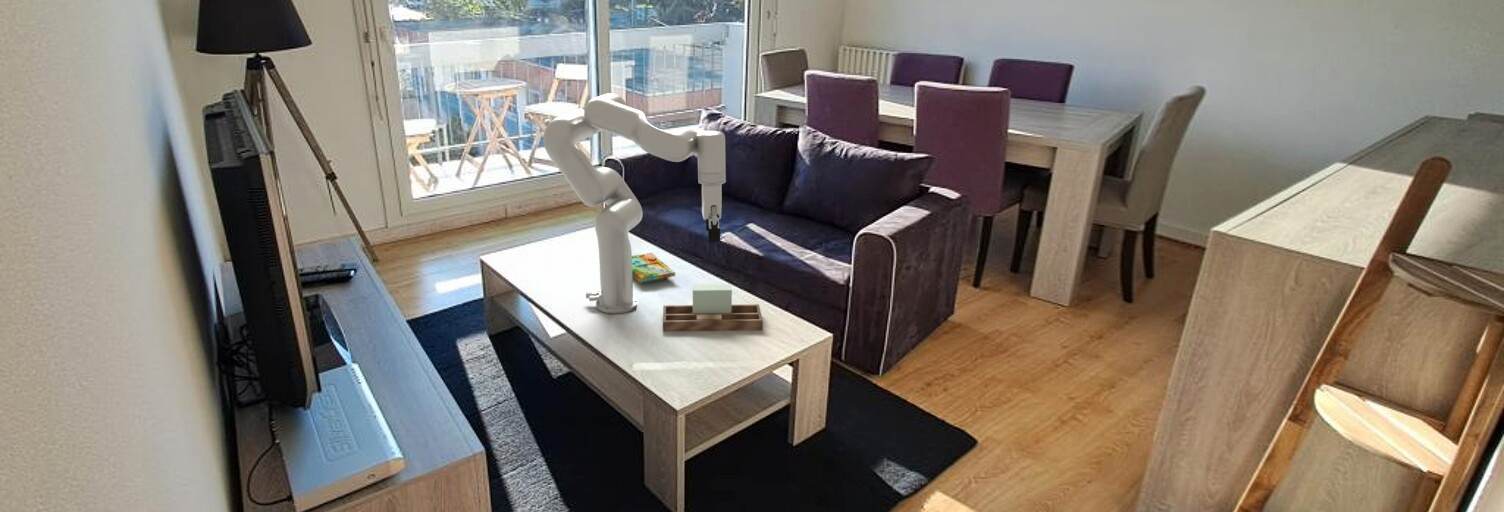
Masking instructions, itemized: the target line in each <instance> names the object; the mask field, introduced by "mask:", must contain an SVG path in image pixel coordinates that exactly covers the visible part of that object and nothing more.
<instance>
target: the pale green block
mask: <svg viewBox="0 0 1504 512" xmlns="http://www.w3.org/2000/svg"><path fill="white" fill-rule="evenodd" d="M732 295H733V289H732V284H692V305H693V314H707V313H731V306H732V305H733V304H732V301H733V300H732V299H733V298H732Z"/></svg>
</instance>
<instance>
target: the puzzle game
mask: <svg viewBox="0 0 1504 512" xmlns="http://www.w3.org/2000/svg"><path fill="white" fill-rule="evenodd" d="M675 276H676V272H675V271H674V270H673V269H671V268H670V267H669V266H668V265H667V264H666V263H664V262H663V261H662V260H661V259H660V258H659V257H658V256H656V254H654V253H653V252H647V253H641V254H636V255H632V278H633V279H635V281H637V282H638V283H639V284H640V285H641V284H646V283H652V282H658V281H664V280H668V278H671V277H675Z"/></svg>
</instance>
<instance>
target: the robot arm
mask: <svg viewBox="0 0 1504 512" xmlns="http://www.w3.org/2000/svg"><path fill="white" fill-rule="evenodd" d="M602 131H605V132H607V133H611V134H614V135H616V136H620V137H621V138H624V139H626V140H630V141H632V142H633V143H635V144H636V146H638V147H639V148H640V149H641V150H642V151H644V152H645V153H647V154H650V155H652V156H653V157H654V156H655V157H658V158H660V159H663V160H665V161H670V162H675V163H679V162H683V161H685V160H687V159H688V158H690V157H691V156H695V155H697V180H698V184H700V185H701V213H702V218H703V220H704V221H705V230H706V231H707V233H708V234H707V235H708V236H707V237H708V240H707V241H708V242H709V243H720V241H721V227H720V220H721V218H722V207H723V206H722V203H723V202H722V199H723V196H722V193H723V192H722V191H723V190H722V186H723V184H725V183H727V179H726V178H727V177H726V176H727V175H726V169H727V168H726V137H725V134H724V133H723V132H722V131H719V130H704V129H698V128H694V127H684V128H681V129H679V130H677V131H675V132H673V133H672V132H669V131H666V130H663V129H661V128H659V127H656V126H654V125H652V124H651V123H650V122H649V121H648V119H647V115H646V113H645V112H644V111H643V110H639V109H636V108H634V107H631V106H628V105H627V103H626V101H625V99H624V98H623V97H621V96H620V95H618V94H616V93H612V92H610V93H609V92H608V93H604V94H601V95H599V96H596V97H593V98H591V99H589V101H588V102H587V103H586V105H585V106H582V107H580V108H578V109H575V110H573V111H570V112H568V113H564V114H561V115H559V116H556V117H555V118H554V119H552V120H551V121H550V122H549V123H548V124H547V126H546V128H545V130H544V134H543V145H544V149H545V151H546V153H547V155H548V157H549V158H550V160H551V161H552V162H553V163H554V165H555V166H556V168H557V169H558V170H559V171H560V172H561V174H562V175H563V176H564V178H565V179H566V181H567V182H568V184H569V185H570V186H571V188H572V190H573V191H574V192H575V194H576V195H577V196H578V198H579V199H580V201H581V202H582V203H583V204H584V205H586V206H587V207H590V208H592V207H593V208H594V207H597V206H600V205H602V204H603V203H604V204H605V205H606V206H604V207H603V208H602V209H601V210H600V211H599V212H598V214H596V217H595V220H594V229H595V230H594V231H595V234H596V239H597V245H598V260H599V280H600V281H599V282H600V289H599V290H596V292H595V291H594V292H593V291H587V292H585V298H586V299H588V300H589V302H595V307H596V309H597V310H599V311H600V312H602V313H607V314H617V315H618V314H625V313H628V312H631V311H633V310H636V308H637V307H638V303H639V299H638V298H637V297H636V296H634V290H633V289H634V287H633V276H632V256H633V255H632V254H633V253H632V252H633V251H632V243H631V241H630V239H629V231H631V230H632V229H633V228H635V227H636V226H638V224H640V222H642V219H643V209H642V208H643V207H642V206H641V204H640V201H639V200H638V198H637V197H636V196H635V194H634V193H633V192H632V190H631V189H630V187H629V186H628V184H627V183H626V181H625V180H624V179H623V177H622V176H621V175H620V174H619V173H618V172H617V171H616V170H615V169H613V168H610V167H607V166H606V167H605V166H603V167H598V168H596V167H595V166H594V165H593V164H592V162H591V161H590V159H589V158H588V156H587V155H586V154H585V153H584V152H583V151H581V150H580V149H579V148H577V147H576V143H578V142H581V141H583V140H586V139H589V138H590V137H592V136H594V135H596V134H598V133H600V132H602Z"/></svg>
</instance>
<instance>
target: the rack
mask: <svg viewBox="0 0 1504 512" xmlns="http://www.w3.org/2000/svg"><path fill="white" fill-rule="evenodd" d="M662 307H663V308H662V332H664V333H665V332H670V333H671V332H672V333H673V332H719V331H720V332H722V331H723V332H725V331H726V332H727V331H730V332H731V331H763V325H764V319H763V316H762V311H761V308H760V304H757V303H755V304H754V303H752V304H751V303H750V304H748V303H747V304H732V306H731V313H707V314H693V304H691V305H690V304H689V305H687V304H686V305H685V304H683V305H677V304H676V305H674V304H673V305H669V304H668V305H667V304H666V305H665V304H664V305H663V306H662ZM720 314H721V316H722V320H697V315H720Z"/></svg>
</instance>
